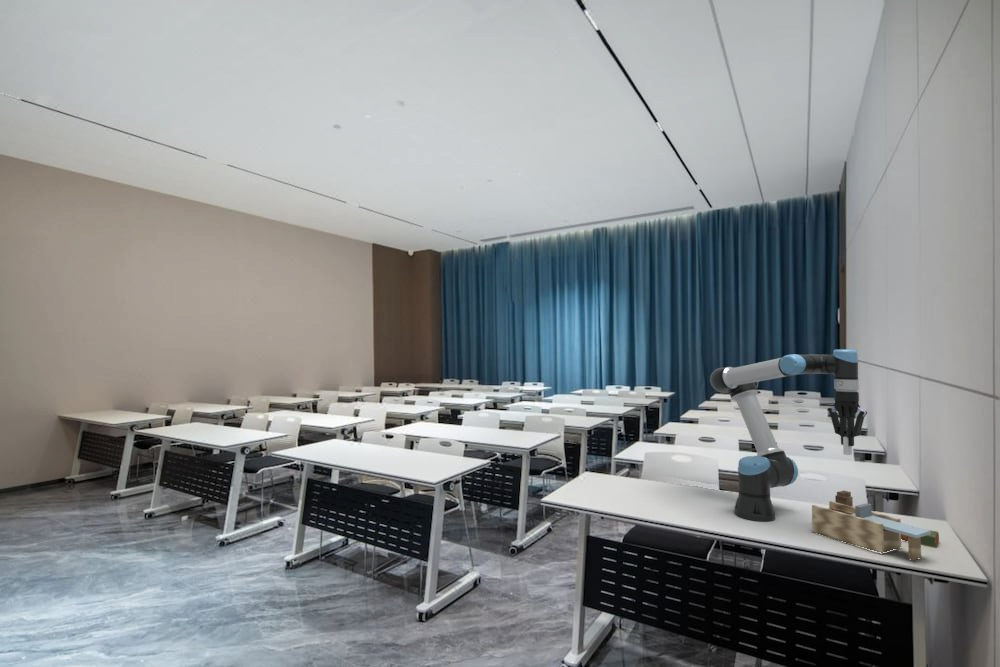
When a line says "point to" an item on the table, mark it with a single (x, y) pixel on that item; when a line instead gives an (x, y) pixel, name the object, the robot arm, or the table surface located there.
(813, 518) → the wooden box
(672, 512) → the table surface
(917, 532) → the lid
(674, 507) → the table surface
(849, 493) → the brown block
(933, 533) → the carton
